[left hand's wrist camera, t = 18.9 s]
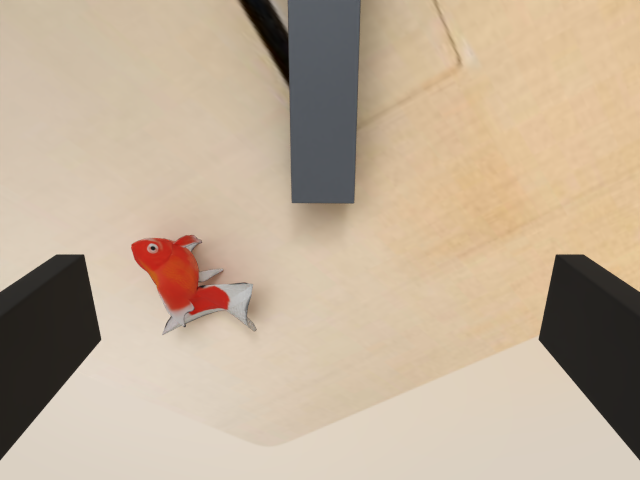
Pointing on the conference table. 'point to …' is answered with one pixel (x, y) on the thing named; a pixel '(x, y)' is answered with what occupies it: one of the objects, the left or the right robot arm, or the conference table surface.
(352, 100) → the bar
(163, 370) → the conference table surface
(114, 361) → the conference table surface
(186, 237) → the fish
